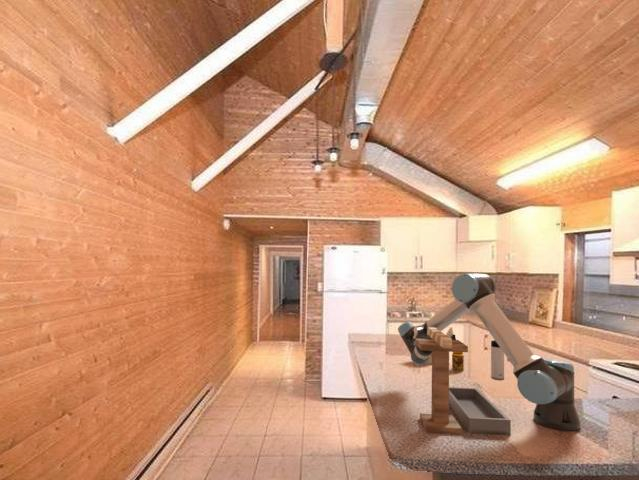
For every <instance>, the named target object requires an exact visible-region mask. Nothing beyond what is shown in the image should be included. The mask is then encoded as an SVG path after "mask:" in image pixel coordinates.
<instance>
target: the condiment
mask: <svg viewBox="0 0 639 480" xmlns="http://www.w3.org/2000/svg"><path fill="white" fill-rule="evenodd" d="M463 353H464V352H452V354H451V358H452V359H451V367H449V371H451V372H453V373H464V372H465V373H466V372H467V370H465V367H464V365H465V364H464V363H465V362H464V361H465V360H464V358H465V357H464V356H465V355H464V354H463Z"/></svg>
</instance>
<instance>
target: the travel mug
mask: <svg viewBox="0 0 639 480" xmlns="http://www.w3.org/2000/svg"><path fill="white" fill-rule="evenodd" d="M490 344H491V345H490V378H491V380H494V381H504V380H505V354H504V352H503V351H502V349H501V348H500V347H499V345H498V344H497V342H496V341H495V339H494V340H491V341H490Z"/></svg>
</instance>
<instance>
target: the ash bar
mask: <svg viewBox="0 0 639 480" xmlns="http://www.w3.org/2000/svg"><path fill="white" fill-rule="evenodd" d="M427 335H428V336H430V337H431V338H432V339H433V340H434V341H436V342H437V343H438V344H439V345H440V346H441V347H443V348H452V339H451V338H449V337H448V336H447V334H445V333H444V332H442V331H439V330H438V329H437V328H435V327H427Z"/></svg>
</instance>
